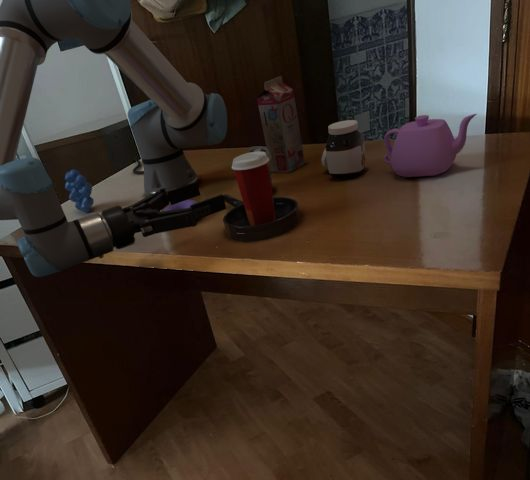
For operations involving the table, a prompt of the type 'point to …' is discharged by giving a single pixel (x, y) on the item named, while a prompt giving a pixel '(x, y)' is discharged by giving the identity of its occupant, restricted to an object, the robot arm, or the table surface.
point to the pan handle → (232, 200)
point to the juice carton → (281, 126)
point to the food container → (264, 149)
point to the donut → (181, 205)
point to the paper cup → (255, 186)
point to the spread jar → (344, 150)
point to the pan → (242, 231)
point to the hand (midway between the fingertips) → (210, 194)
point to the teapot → (425, 146)
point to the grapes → (79, 190)
